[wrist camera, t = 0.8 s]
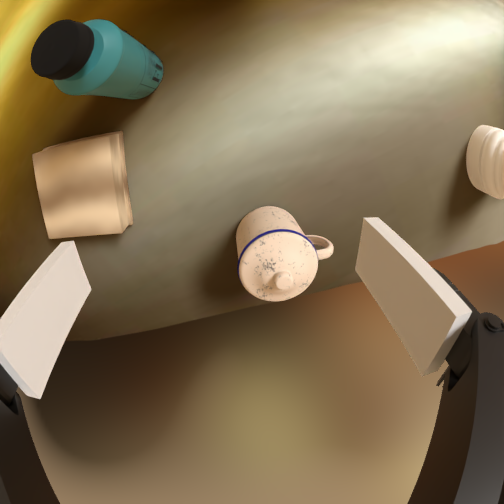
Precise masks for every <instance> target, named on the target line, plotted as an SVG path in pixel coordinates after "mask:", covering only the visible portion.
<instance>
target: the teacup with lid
mask: <svg viewBox="0 0 504 504" xmlns="http://www.w3.org/2000/svg"><path fill="white" fill-rule="evenodd" d="M236 242H237V251H238V267H237V269H238V276H239V279H240V281H241V283H242V285H243V286H244V288H245V289H246V290H247V291H248V292H249V293H251V294H252V295H253V296H255V297H257V298H259V299H262V300H266V301H283V300H287V299H290V298H293V297H295V296H297V295H298V294H300V293H301V292H303V291H304V290H305V289H306V288H307V287H308V286H309V285H310V284H311V282H312V281H313V279H314V277H315V275H316V272H317V268H318V260H321V259H325V258H328V257H329V256H331V255H332V253H333V245H332V243H331V242H330V241H329V240H327V239H326V238H323V237H320V236H316V235H304V233H303V232H302V230H301V228H300V227H299V225H298V224H297V222H296V221H295V219H294V218H293V217H292V215H291V214H289V213H288V212H287V211H285V210H283V209H281V208H278V207H273V206H266V207H261V208H257V209H255V210H253V211H251V212H250V213H248V214H247V215H246V216H245V217H244V218H243V219H242V221H241V222H240V224H239V226H238V229H237V233H236ZM313 244H314V245H319V246H321V247H323V248H325V249H321V250H316V249H315V247H314V245H313Z"/></svg>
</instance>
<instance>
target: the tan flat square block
mask: <svg viewBox="0 0 504 504" xmlns="http://www.w3.org/2000/svg"><path fill="white" fill-rule="evenodd" d="M32 157H33V164H34V171H35V177H36V183H37V189H38V194H39V199H40V204H41V208H42V212H43V217H44V221H45V225H46V229H47V232H48V236H49V239H55V238H66V237H78V236H90V235H103V234H116V233H123V231H124V230H125V229H126V227H127V226H128V225H132V224H133V223H134V222H133V216H132V209H131V203H130V196H129V188H128V181H127V172H126V163H125V152H124V140H123V131H117V132H111V133H106V134H101V135H96V136H91V137H86V138H82V139H77V140H73V141H69V142H65V143H61V144H57V145H53V146H50V147H46V148H43V151H41V152H38V153H35V154H32Z"/></svg>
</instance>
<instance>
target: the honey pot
mask: <svg viewBox="0 0 504 504" xmlns="http://www.w3.org/2000/svg"><path fill="white" fill-rule="evenodd" d="M466 166H467V173H468V176H469V179H470V181H471V183H472V185H473V186H474V187H475V188H477V189H479V190H481V191H483V192H484V193H486V194H489V195H490V196H493V197H494V198H497V199H503V198H504V130H502V129H499V128H495V127H491V126H487V125H481V126H479V127H477V128H476V129H475V130H474V132H473V134H472V135H471V137H470V140H469V143H468V147H467V153H466Z"/></svg>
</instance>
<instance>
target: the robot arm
mask: <svg viewBox="0 0 504 504" xmlns="http://www.w3.org/2000/svg"><path fill="white" fill-rule="evenodd" d="M355 271H356V272H357V274H358V275H359V276H360V278H361V279H362V281H363V282H364V284H365V285H366V287H367V288H368V290H369V291H370V293H371V294H372V296H373V297H374V299H375V300H376V302H377V303H378V305H379V306H380V308H381V309H382V311H383V313H384V314H385V315H386V317H387V319H388V320H389V322H390V324H391V325H392V326H393V328H394V330H395V332H396V333H397V335H398V336H399V338H400V340H401V341H402V343H403V345H404V346H405V348H406V350H407V351H408V353H409V355H410V357H411V358H412V360H413V362H414V364H415V365H416V367H417V369H418V370H419V372H420V374H421V376H422V377H423V376H425V375H428V374H430V373H433V372H436V371H438V369H439V368H440V367H441V365H442V364H443V362H444V360H445V359H446V361H447V362H448V364H449V366H448V368H447V369H446V371H445V372H444V374H443V375H442V376H441V378H440V379H439V381H438V383H437V386H439V385H440V383H441V382H442V381H443V380H444V384H443V390H442V396H441V401H440V406H439V410H438V415H437V419H436V423H435V427H434V431H433V435H432V438H431V442H430V445H429V448H428V451H427V455H426V458H425V461H424V464H423V466H422V469H421V472H420V475H419V478H418V480H417V483H416V485H415V487H414V490H413V492H412V495H411V497H410V499H409V502H408V504H504V323H503V321H502V320H501V319H500V318H498V317H497V316H496V315H493V314H492V313H487V312H486V313H481V314H480V313H479V312H478V311H477V310H476V309H475V307H474V306H473V305H472V304H471V303H470V302H469V301H468V299H467V298H466V297H465V296H464V295H463V294H462V293H461V292H460V291H458V289H457V288H456V286H455V285H453V284H452V282H451V281H450V280H449V279H448V278H447V277H446V276H445V275H444V274H442V273H441V272H439V271H438V270H436V269H434V268H432V267H431V266H430V265H429V264H428V263H427V262H426V261H425V260H424V259H423V258H422V257H421V256H420V255H419V254H418V253H417V252H416V251H414V250H413V249H412V248H411V247H410V246H409V245H408V244H407V243H406V242H405V241H404V240H403V239H402V238H401V237H399V236H398V235H397V234H396V233H395V232H394V231H393V230H392V229H391V228H389V227H388V226H387V225H386V224H385V223H384V222H383V221H381V220H380V219H379V218H378V217H374V218H363V225H362V232H361V239H360V245H359V251H358V256H357V262H356V267H355ZM90 291H91V287H90V285H89V282H88V280H87V277H86V274H85V272H84V269H83V266H82V264H81V261H80V258H79V255H78V252H77V249H76V246H75V243H74V241H67V242H61V243H60V245H59V246H58V247H57V248H56V249H55V250H54V251H53V252H52V253H51V254H50V256H49V257H48V258H47V259H46V260H45V261H44V263H43V264H42V265H41V266H40V267H39V268H38V270H37V271H36V272H35V273H34V274H33V276H32V277H31V278H30V279H29V281H28V282H27V283H26V284H25V286H24V287H23V288H22V290H21V291H20V292H19V294H18V295H17V296H16V298H15V299H14V300H13V302H12V303H11V304H10V306H9V307H8V309H7V310H6V312H5V313H4V314H3V316H2V317H1V319H0V504H60V502H59V501H58V499H57V497H56V495H55V493H54V491H53V489H52V487H51V485H50V482H49V480H48V478H47V476H46V473H45V471H44V469H43V466H42V464H41V461H40V459H39V456H38V454H37V451H36V448H35V446H34V443H33V440H32V437H31V434H30V430H29V428H28V424H27V420H26V417H25V413H24V410H23V406H22V401H21V398H20V396H19V394H18V393H17V392H16V390H17V387H18V386H19V387H20V388H21V389H22V391H23V392H24V393H25V394H26V395H27V396H30V397H34V398H38V399H41V396H42V394H43V391H44V388H45V386H46V383H47V380H48V378H49V376H50V373H51V371H52V368H53V366H54V364H55V361H56V359H57V357H58V354H59V352H60V350H61V348H62V346H63V343H64V341H65V339H66V337H67V335H68V333H69V331H70V329H71V327H72V325H73V323H74V321H75V319H76V317H77V315H78V313H79V311H80V309H81V308H82V306H83V304H84V302H85V300H86V298H87V296H88V295H89V293H90Z"/></svg>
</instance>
